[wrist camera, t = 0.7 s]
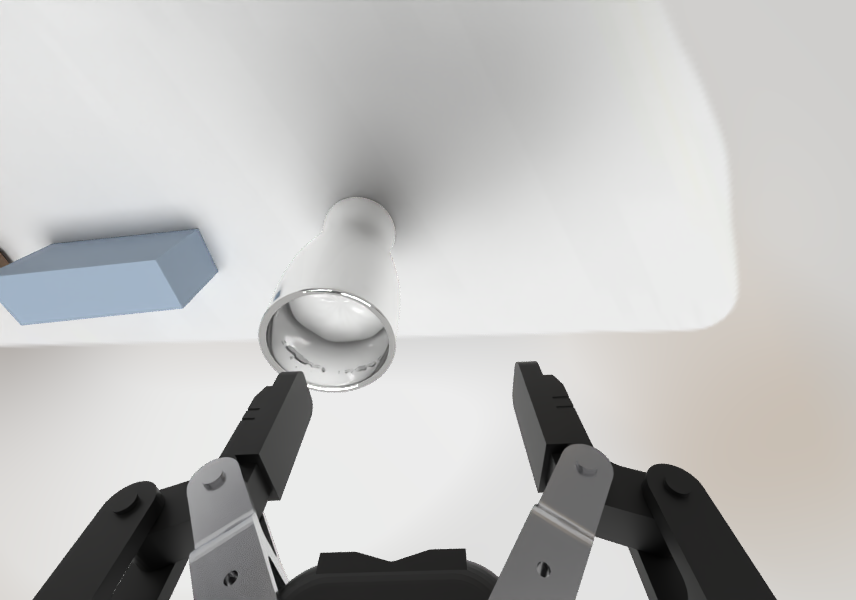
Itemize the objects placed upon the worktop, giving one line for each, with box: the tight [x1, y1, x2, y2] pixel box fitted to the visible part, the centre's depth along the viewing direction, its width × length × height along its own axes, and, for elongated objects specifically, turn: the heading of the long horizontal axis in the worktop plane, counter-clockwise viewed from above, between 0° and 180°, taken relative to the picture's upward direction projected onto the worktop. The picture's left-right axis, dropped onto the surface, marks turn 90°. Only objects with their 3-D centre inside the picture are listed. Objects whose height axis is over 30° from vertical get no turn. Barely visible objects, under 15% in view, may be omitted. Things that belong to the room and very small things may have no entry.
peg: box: [0, 229, 218, 325], centre depth 27 cm, size 12×4×6 cm, turn 94°
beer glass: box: [258, 197, 400, 392], centre depth 23 cm, size 7×7×15 cm
